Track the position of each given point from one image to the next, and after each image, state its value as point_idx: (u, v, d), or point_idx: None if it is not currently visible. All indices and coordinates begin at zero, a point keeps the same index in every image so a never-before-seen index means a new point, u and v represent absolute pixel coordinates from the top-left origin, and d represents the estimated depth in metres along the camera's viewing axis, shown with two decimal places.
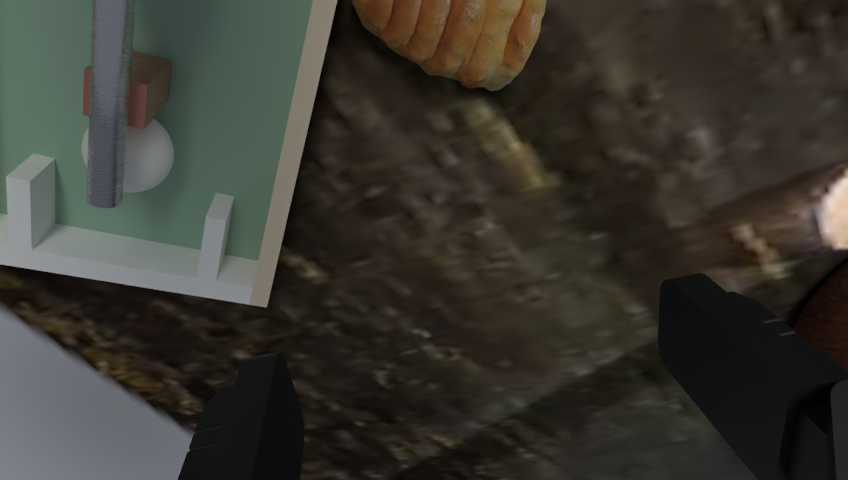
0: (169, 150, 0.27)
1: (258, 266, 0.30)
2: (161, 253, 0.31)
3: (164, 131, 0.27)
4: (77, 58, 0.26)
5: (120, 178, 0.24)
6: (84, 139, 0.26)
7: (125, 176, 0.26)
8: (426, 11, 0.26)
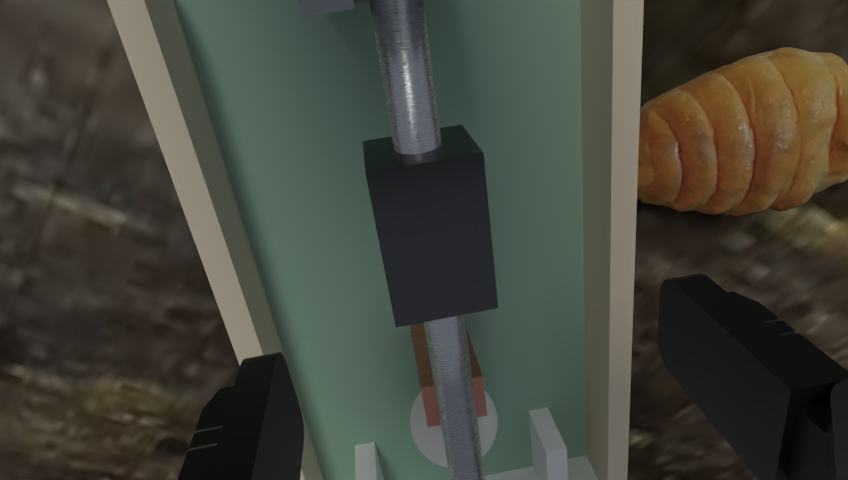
0: (493, 406, 0.25)
1: (609, 476, 0.27)
2: None
3: None
4: (373, 350, 0.25)
5: (483, 474, 0.22)
6: (417, 433, 0.24)
7: None
8: (725, 165, 0.22)
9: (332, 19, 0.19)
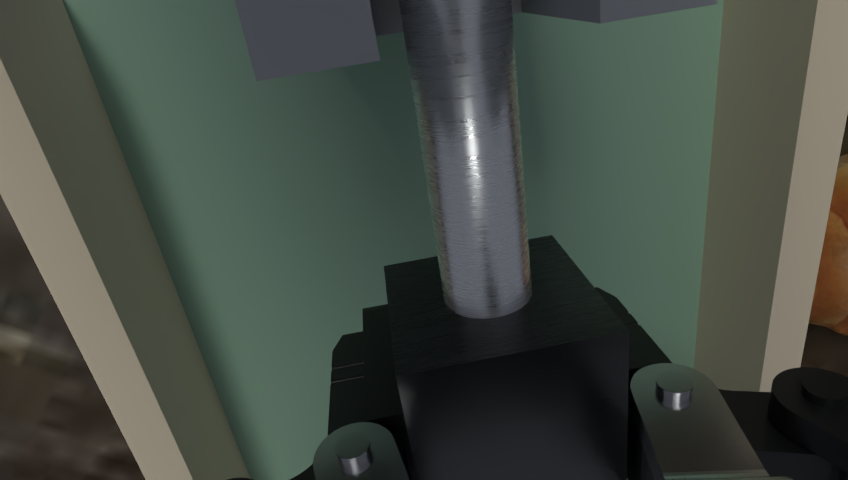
0: None
1: None
2: None
3: None
4: None
5: None
6: None
7: None
8: None
9: None
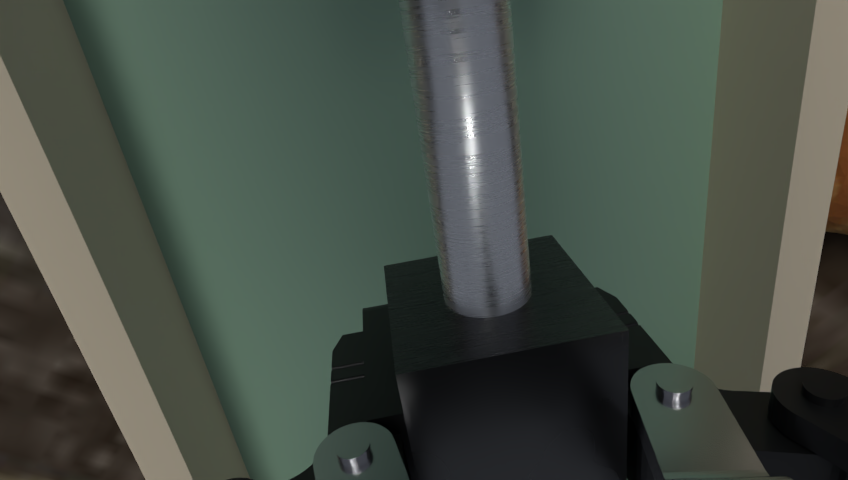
0: None
1: None
2: None
3: None
4: None
5: None
6: None
7: None
8: None
9: None
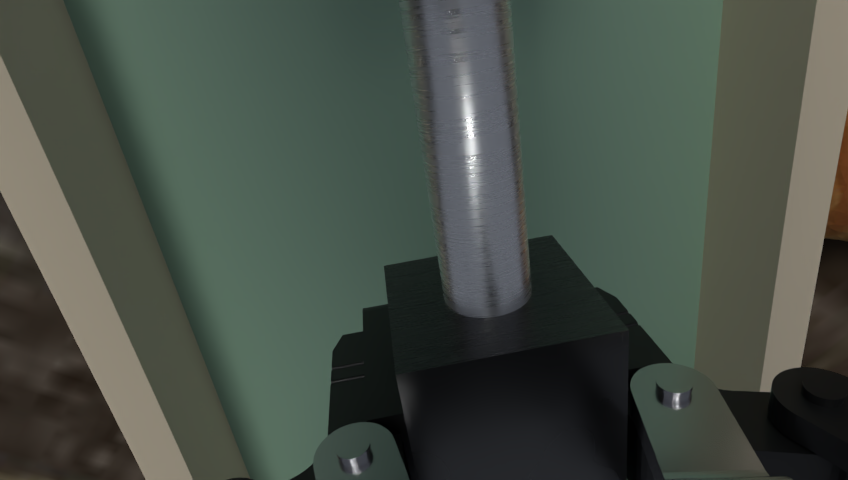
0: None
1: None
2: None
3: None
4: None
5: None
6: None
7: None
8: None
9: None
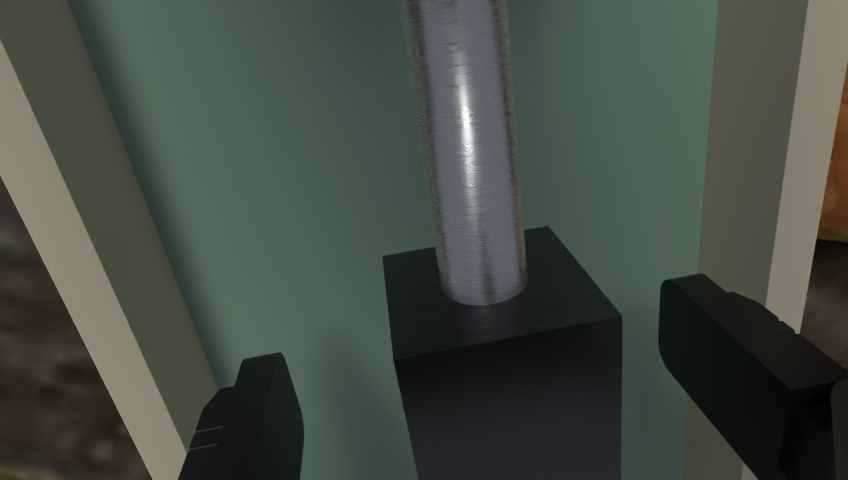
0: None
1: None
2: None
3: None
4: (372, 424, 0.17)
5: None
6: None
7: None
8: None
9: None
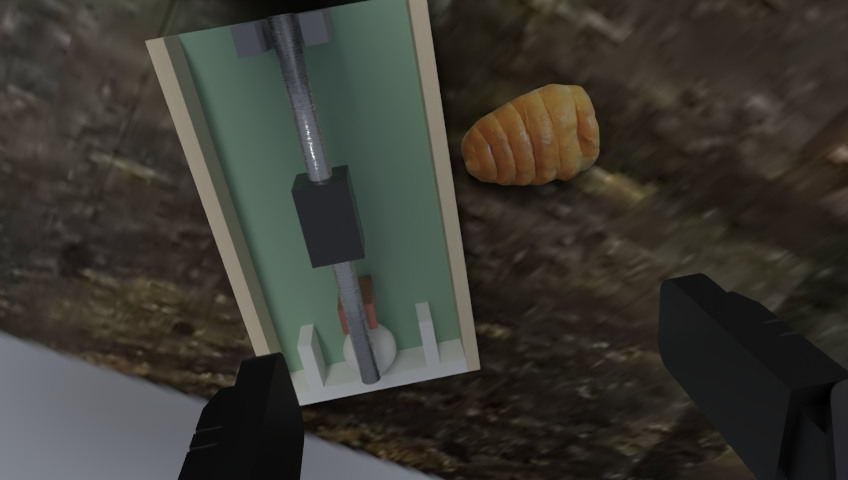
0: (395, 353, 0.41)
1: (464, 342, 0.41)
2: (396, 359, 0.43)
3: (389, 356, 0.41)
4: (307, 258, 0.40)
5: (376, 362, 0.38)
6: None
7: None
8: (518, 156, 0.37)
9: (269, 54, 0.34)
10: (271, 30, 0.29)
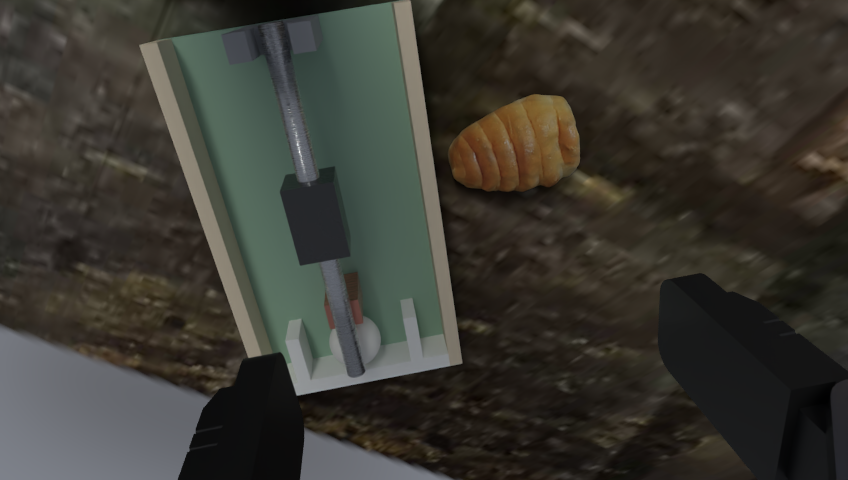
0: (379, 344, 0.43)
1: (446, 337, 0.43)
2: (382, 353, 0.45)
3: (373, 346, 0.42)
4: (296, 255, 0.42)
5: (361, 356, 0.39)
6: None
7: None
8: (502, 163, 0.39)
9: (260, 58, 0.36)
10: (261, 37, 0.30)
